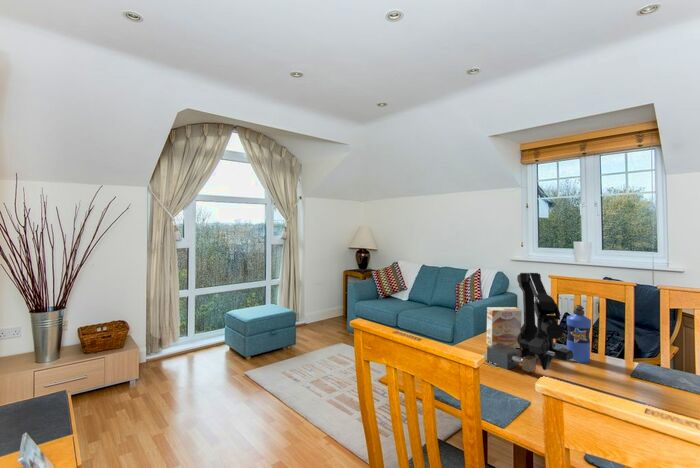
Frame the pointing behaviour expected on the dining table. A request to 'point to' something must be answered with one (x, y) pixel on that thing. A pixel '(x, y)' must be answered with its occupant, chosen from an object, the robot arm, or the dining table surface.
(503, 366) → the housing
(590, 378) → the dining table surface
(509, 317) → the coffeecake box
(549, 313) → the robot arm
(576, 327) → the water bottle
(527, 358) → the shaft
